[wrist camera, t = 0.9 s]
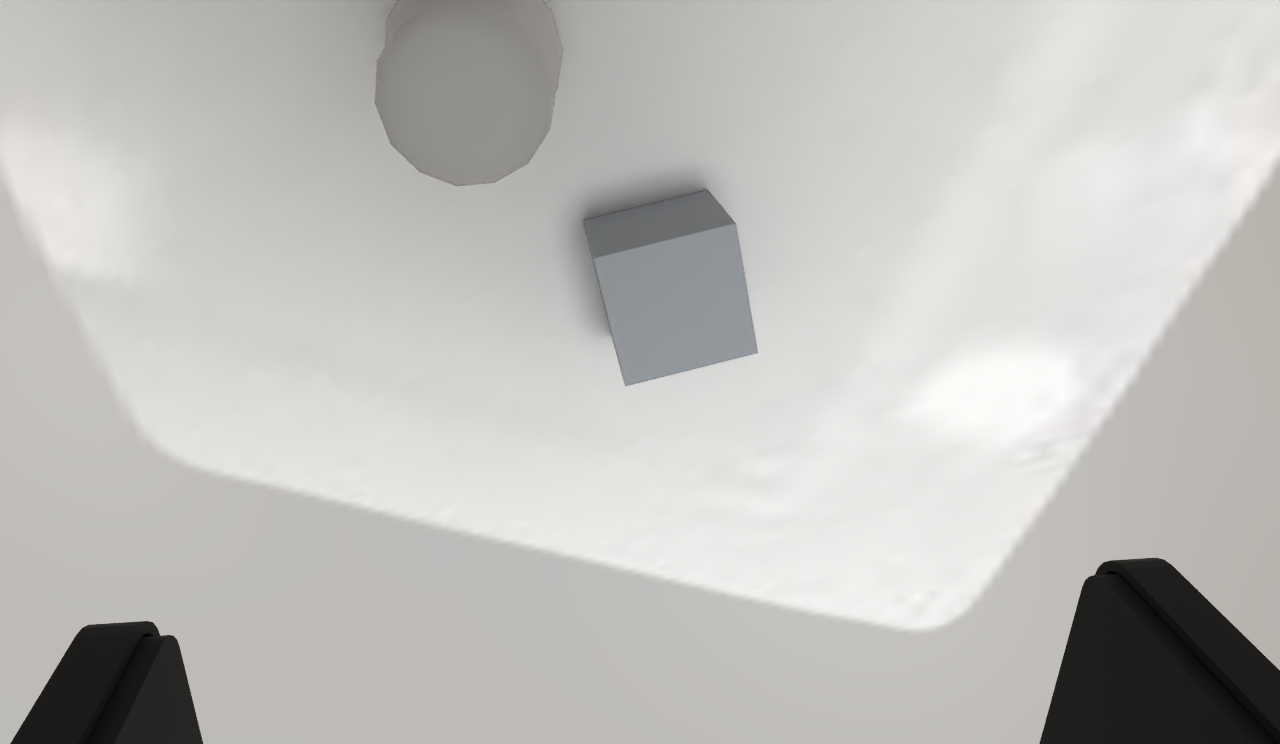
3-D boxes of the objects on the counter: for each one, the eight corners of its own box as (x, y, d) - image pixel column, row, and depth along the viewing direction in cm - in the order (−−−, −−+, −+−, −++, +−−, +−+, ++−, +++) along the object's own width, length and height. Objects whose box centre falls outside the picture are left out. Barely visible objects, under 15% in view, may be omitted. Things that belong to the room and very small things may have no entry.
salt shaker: (405, 135, 35) (355, 234, 23) (379, -36, 32) (308, -23, 20) (565, 123, 35) (596, 214, 23) (552, -46, 33) (579, -39, 21)
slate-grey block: (582, 219, 37) (593, 258, 32) (707, 189, 37) (735, 223, 32) (611, 335, 39) (625, 386, 34) (728, 305, 39) (758, 352, 35)
